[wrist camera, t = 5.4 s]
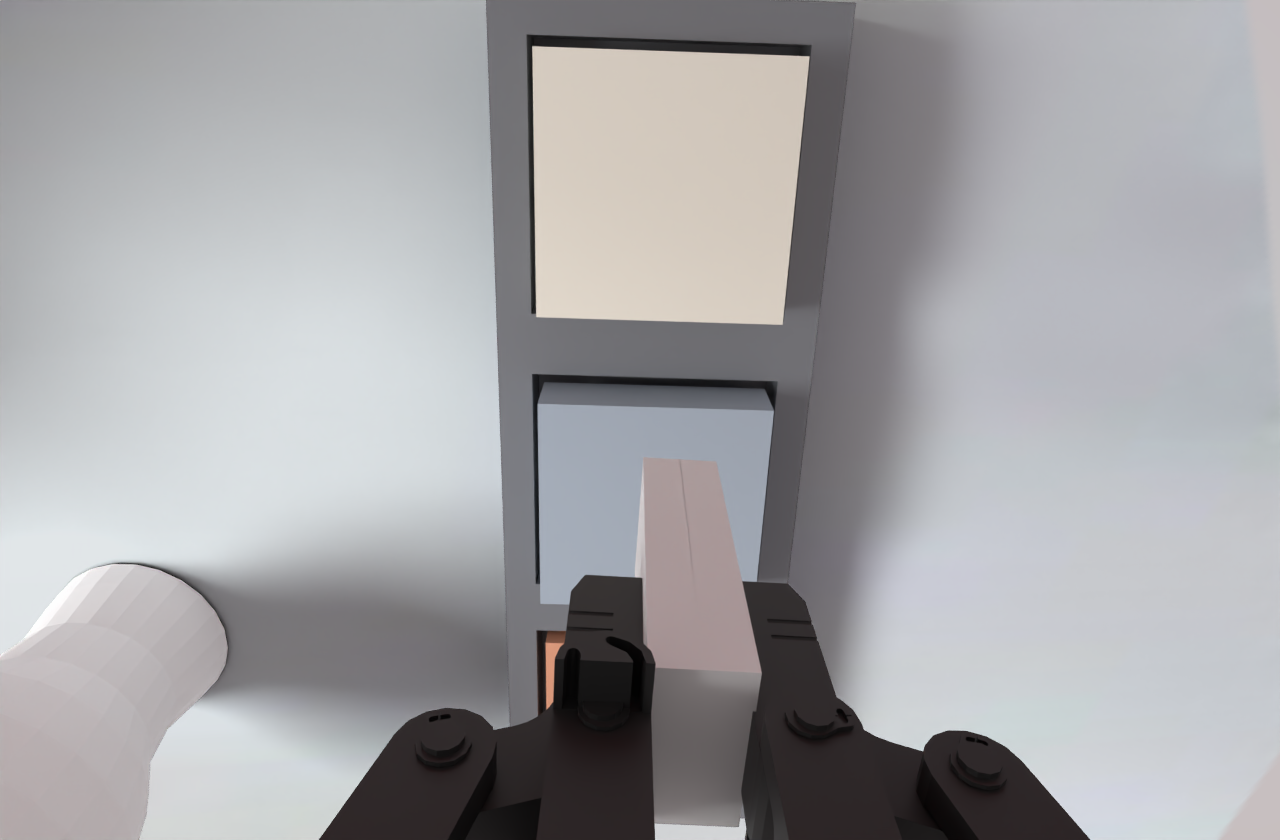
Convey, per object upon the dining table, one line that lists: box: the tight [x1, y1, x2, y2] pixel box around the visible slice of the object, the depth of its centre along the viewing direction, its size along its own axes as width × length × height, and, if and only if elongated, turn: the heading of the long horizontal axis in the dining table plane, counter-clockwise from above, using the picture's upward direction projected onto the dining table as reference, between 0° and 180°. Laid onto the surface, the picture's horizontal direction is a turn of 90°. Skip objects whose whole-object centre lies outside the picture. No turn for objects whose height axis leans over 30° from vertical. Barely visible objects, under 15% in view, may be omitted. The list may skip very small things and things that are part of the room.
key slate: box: [538, 382, 774, 605], centre depth 30 cm, size 8×8×2 cm
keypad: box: [486, 0, 856, 818], centre depth 33 cm, size 33×11×4 cm, turn 178°
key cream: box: [532, 46, 810, 325], centre depth 26 cm, size 8×8×2 cm
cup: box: [0, 564, 228, 840], centre depth 31 cm, size 11×11×15 cm
